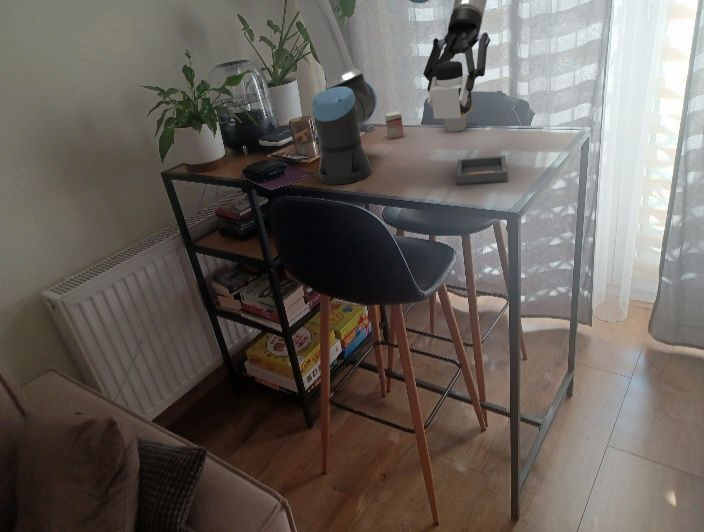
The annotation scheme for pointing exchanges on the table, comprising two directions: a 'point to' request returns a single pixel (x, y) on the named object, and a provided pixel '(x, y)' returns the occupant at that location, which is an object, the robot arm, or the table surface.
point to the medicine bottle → (449, 92)
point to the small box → (394, 125)
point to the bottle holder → (481, 170)
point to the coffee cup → (455, 124)
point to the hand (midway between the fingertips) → (446, 103)
